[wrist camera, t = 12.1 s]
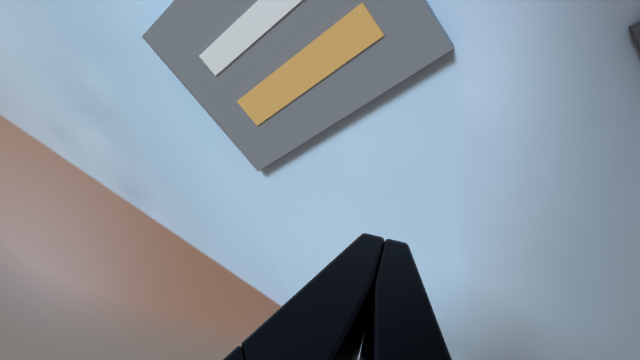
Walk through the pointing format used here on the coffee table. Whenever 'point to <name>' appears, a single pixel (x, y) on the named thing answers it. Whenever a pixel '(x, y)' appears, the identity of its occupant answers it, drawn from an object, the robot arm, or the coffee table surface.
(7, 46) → the coffee table surface
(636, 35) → the label frame
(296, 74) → the label plate
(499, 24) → the coffee table surface
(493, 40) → the coffee table surface
